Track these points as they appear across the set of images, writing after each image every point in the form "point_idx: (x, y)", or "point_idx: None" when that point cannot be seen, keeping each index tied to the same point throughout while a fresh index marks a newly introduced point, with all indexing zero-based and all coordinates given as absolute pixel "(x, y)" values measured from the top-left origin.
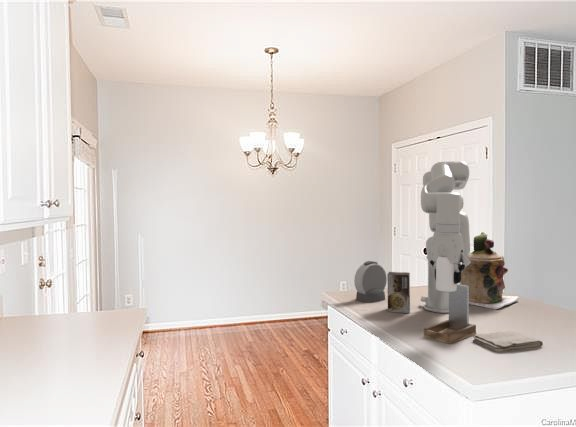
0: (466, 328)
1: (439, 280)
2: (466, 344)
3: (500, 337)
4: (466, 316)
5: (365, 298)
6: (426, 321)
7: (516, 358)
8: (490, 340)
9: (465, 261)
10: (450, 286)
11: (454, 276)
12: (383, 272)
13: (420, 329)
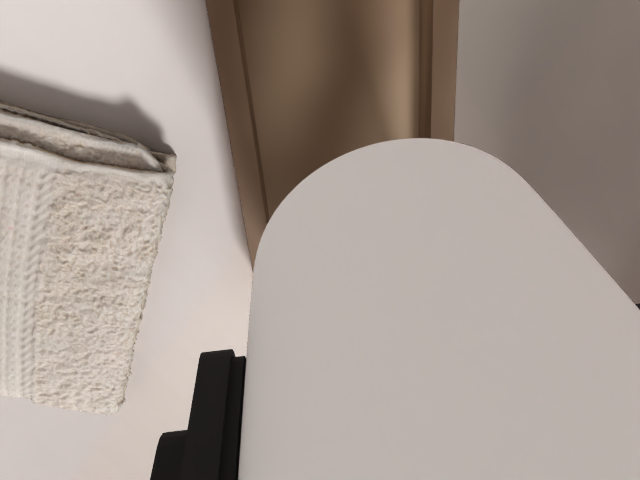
0: (242, 209)
1: (486, 221)
2: (140, 48)
3: (37, 262)
4: None
5: None
6: (605, 246)
7: None
8: (22, 165)
9: None
10: (267, 259)
11: (209, 462)
12: None
13: (554, 63)
